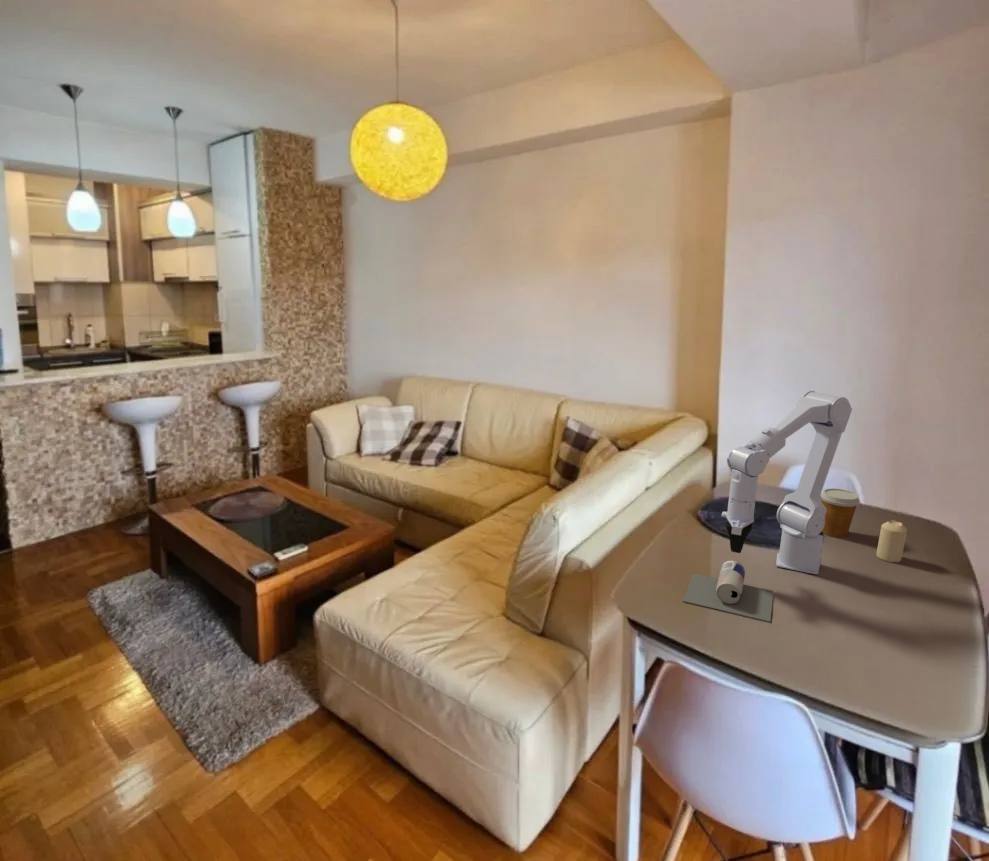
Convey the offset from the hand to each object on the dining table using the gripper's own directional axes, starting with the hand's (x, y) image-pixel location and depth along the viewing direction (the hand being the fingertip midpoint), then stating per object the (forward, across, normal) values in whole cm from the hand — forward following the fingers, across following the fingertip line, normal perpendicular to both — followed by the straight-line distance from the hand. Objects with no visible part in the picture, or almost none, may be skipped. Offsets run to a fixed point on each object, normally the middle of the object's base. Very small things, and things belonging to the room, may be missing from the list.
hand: (736, 551), depth 141 cm
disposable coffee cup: (+8, -42, +23) cm, 48 cm away
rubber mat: (+7, +9, 0) cm, 12 cm away
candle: (+8, -30, +35) cm, 47 cm away
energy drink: (+4, +1, 0) cm, 5 cm away
